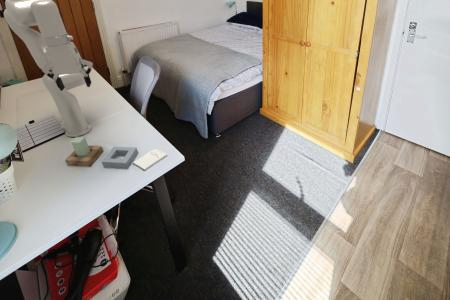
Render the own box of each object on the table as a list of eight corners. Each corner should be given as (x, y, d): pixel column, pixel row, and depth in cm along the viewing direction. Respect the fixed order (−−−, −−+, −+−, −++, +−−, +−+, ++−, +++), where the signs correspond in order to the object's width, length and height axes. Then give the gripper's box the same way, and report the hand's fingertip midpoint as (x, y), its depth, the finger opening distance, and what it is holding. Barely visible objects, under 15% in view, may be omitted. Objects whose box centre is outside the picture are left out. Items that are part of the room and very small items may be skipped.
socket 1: (67, 165, 121) (64, 160, 120) (81, 150, 130) (79, 145, 128) (90, 166, 120) (88, 161, 118) (103, 151, 128) (101, 146, 127)
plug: (79, 160, 124) (70, 142, 118) (84, 155, 127) (76, 137, 121) (87, 161, 123) (79, 142, 117) (92, 155, 126) (84, 137, 120)
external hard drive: (133, 165, 120) (155, 150, 127) (145, 172, 115) (167, 156, 123) (132, 162, 119) (154, 147, 126) (144, 169, 114) (167, 153, 122)
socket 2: (103, 167, 119) (101, 161, 117) (115, 151, 127) (113, 146, 126) (127, 168, 117) (125, 163, 115) (138, 152, 126) (136, 147, 124)
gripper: (85, 35, 100) (101, 80, 110) (34, 41, 98) (55, 87, 108) (80, 40, 94) (97, 88, 104) (26, 46, 92) (49, 94, 102)
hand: (76, 87), depth 106 cm, fingers open, 9 cm apart
